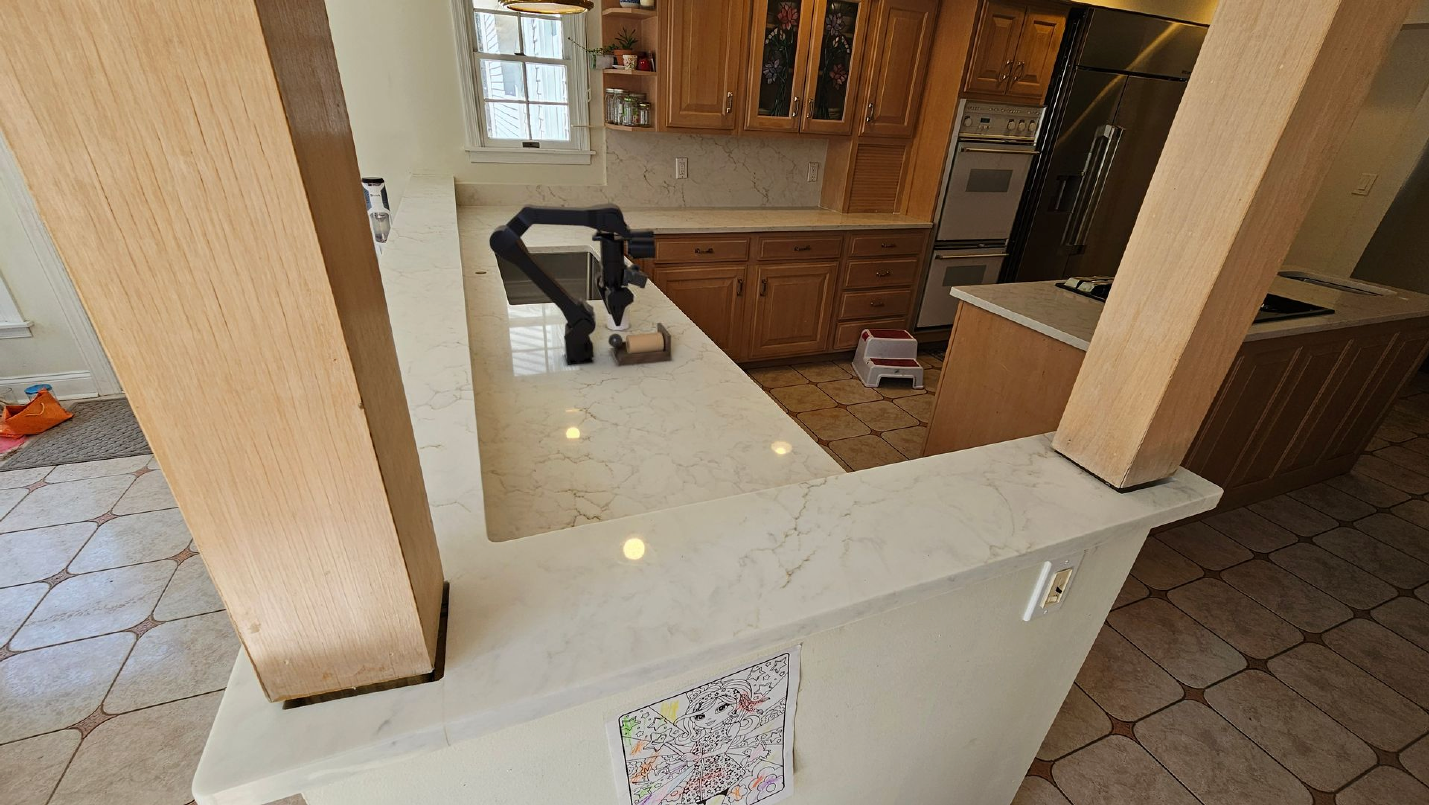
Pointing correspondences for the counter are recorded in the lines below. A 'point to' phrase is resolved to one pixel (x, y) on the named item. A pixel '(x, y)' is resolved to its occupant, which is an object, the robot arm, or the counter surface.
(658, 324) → the tipping cradle
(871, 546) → the counter surface
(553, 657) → the counter surface
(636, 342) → the paper roll
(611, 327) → the spray bottle
